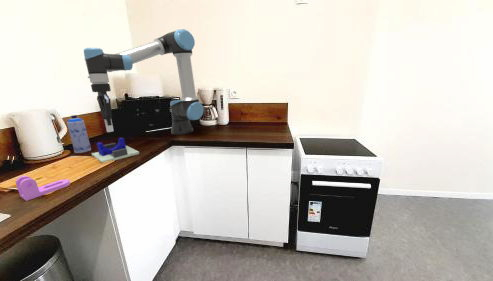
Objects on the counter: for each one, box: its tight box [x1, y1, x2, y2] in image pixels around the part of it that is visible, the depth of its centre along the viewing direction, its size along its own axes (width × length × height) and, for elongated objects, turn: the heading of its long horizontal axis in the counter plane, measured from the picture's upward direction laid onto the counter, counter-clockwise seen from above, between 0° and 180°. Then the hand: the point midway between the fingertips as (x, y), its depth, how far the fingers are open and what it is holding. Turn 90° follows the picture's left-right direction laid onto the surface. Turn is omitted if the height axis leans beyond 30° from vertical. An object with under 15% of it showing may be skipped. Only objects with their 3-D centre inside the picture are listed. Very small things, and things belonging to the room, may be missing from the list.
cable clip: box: [96, 137, 127, 156], centre depth 113 cm, size 12×4×6 cm, turn 144°
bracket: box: [15, 175, 71, 202], centre depth 77 cm, size 13×6×7 cm, turn 149°
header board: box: [91, 142, 140, 163], centre depth 112 cm, size 17×18×4 cm
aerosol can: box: [66, 114, 92, 154], centre depth 120 cm, size 8×8×20 cm
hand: (110, 131), depth 110 cm, fingers closed
